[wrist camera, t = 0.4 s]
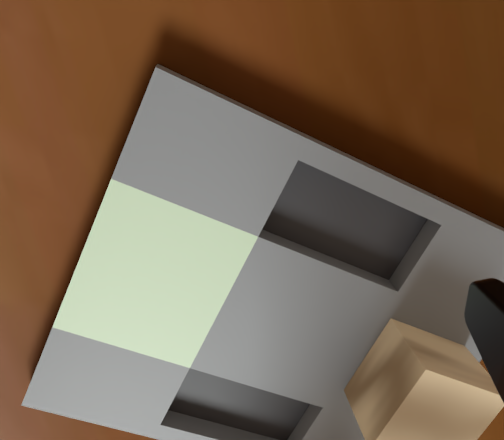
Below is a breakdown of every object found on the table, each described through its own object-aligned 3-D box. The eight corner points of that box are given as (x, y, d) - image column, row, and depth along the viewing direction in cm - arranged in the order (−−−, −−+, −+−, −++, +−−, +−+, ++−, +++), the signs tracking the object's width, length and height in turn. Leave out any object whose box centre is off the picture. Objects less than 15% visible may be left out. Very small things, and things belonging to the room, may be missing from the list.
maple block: (416, 412, 28) (451, 472, 24) (343, 390, 26) (369, 449, 23) (464, 345, 26) (509, 398, 23) (390, 318, 25) (426, 369, 21)
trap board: (371, 473, 32) (379, 494, 30) (30, 384, 26) (21, 405, 24) (538, 244, 26) (558, 257, 25) (157, 63, 20) (155, 67, 19)
